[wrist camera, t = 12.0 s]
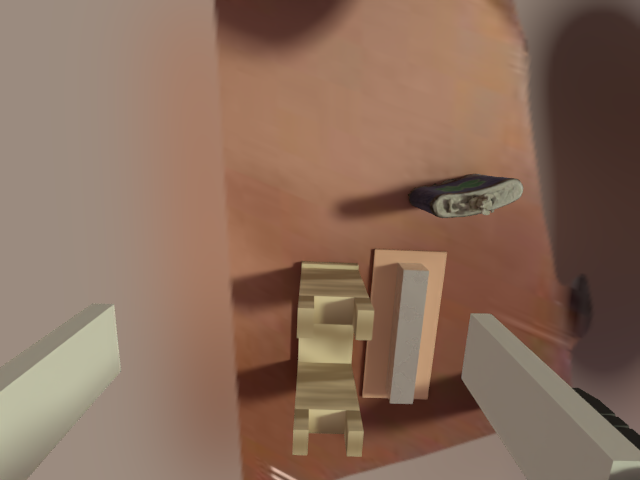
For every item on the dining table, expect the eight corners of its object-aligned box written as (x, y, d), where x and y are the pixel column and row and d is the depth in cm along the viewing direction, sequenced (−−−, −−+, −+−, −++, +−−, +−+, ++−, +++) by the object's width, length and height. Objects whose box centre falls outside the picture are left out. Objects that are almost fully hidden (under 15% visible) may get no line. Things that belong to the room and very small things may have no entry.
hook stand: (302, 261, 46) (298, 302, 33) (357, 263, 46) (374, 305, 33) (297, 380, 50) (292, 458, 37) (348, 382, 50) (361, 460, 37)
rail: (398, 262, 45) (403, 269, 43) (421, 263, 46) (429, 270, 43) (385, 388, 50) (389, 403, 47) (406, 389, 50) (412, 403, 47)
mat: (374, 248, 45) (375, 249, 45) (445, 251, 46) (446, 252, 45) (362, 395, 50) (362, 397, 50) (426, 397, 51) (427, 399, 50)
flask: (481, 170, 43) (535, 177, 33) (484, 194, 44) (537, 208, 34) (405, 188, 44) (434, 200, 33) (410, 212, 45) (439, 230, 34)
